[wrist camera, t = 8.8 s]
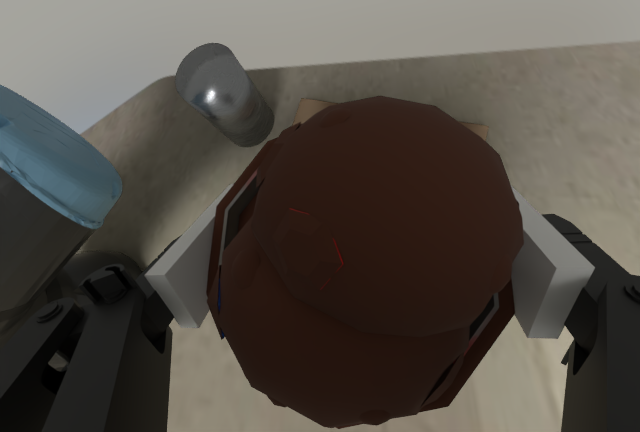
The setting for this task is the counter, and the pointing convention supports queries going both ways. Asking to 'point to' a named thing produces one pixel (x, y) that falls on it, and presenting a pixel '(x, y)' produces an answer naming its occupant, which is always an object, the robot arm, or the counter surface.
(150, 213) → the counter surface
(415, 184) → the ice cream bowl
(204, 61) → the metal tin
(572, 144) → the counter surface
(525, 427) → the counter surface
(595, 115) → the counter surface
